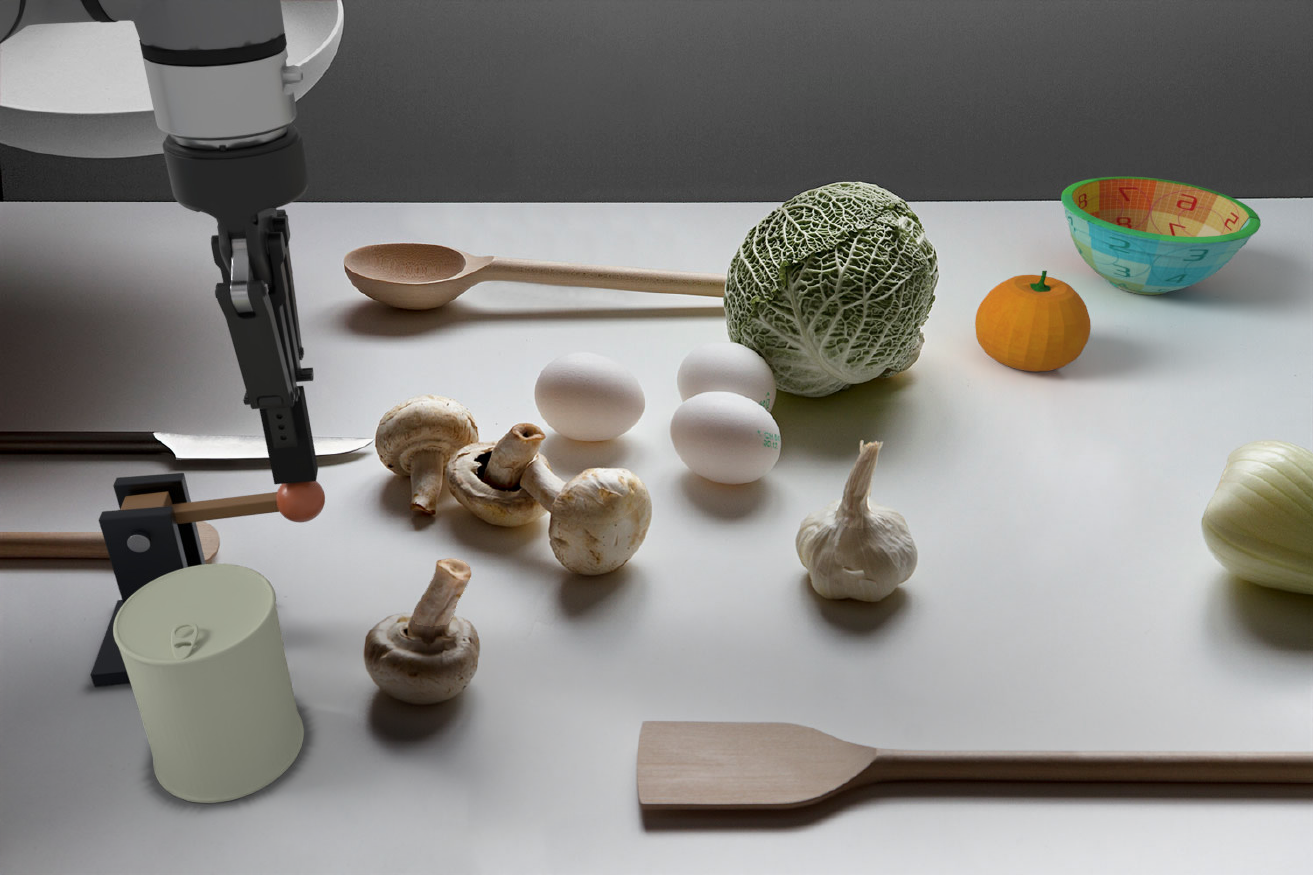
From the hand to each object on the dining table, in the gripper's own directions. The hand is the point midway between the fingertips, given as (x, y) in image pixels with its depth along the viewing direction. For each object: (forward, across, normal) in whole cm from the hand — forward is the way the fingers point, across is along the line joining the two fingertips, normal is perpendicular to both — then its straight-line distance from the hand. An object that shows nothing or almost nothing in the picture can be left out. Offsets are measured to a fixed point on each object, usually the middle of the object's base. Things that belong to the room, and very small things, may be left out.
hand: (296, 476), depth 76 cm
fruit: (+14, +34, -71) cm, 80 cm away
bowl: (+14, +51, -94) cm, 108 cm away
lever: (+4, 0, +5) cm, 6 cm away
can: (+14, -11, +5) cm, 18 cm away
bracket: (+13, 0, +10) cm, 17 cm away
